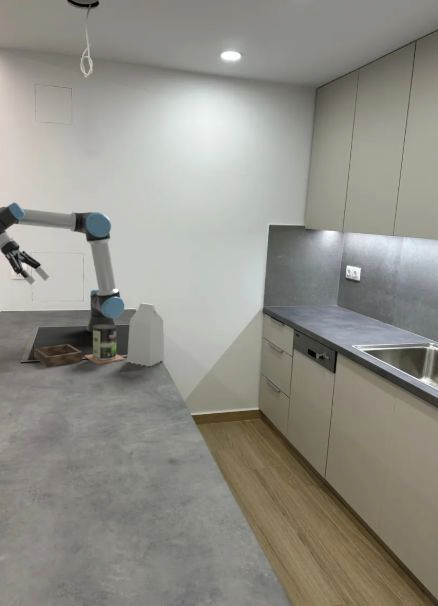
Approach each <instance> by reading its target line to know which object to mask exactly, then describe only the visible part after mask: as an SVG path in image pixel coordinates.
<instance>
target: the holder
mask: <svg viewBox="0 0 438 606" xmlns="http://www.w3.org/2000/svg"><path fill="white" fill-rule="evenodd" d="M59 354H60V355H59ZM33 358H34V359H36V360H37V359H38V360H39V361H38V360H37V361H38V362H39V363H41V364H42V365H43V366H45V367H46V368H50V367H56V366H61V365H66V364H72V363H73V364H74V363H79V362H83V352H82V351H81V350H80V349H78V348H76V347H74V346H72V345H71V344H69V343H66V344H59V345H51V346H43V347H38V348H37V347H36V348H33Z"/></svg>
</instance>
